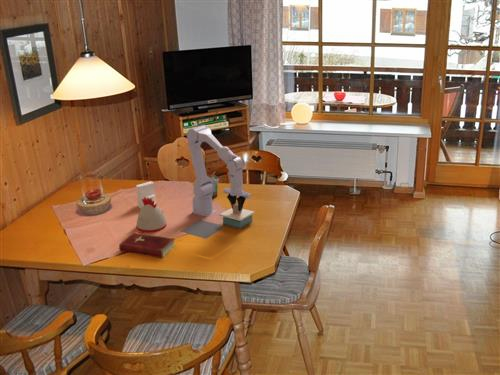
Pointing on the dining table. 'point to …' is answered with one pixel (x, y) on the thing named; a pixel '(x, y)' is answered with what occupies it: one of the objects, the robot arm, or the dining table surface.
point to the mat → (203, 229)
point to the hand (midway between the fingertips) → (237, 209)
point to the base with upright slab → (145, 193)
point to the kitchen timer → (150, 217)
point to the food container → (215, 182)
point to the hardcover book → (147, 245)
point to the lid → (237, 213)
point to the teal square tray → (237, 222)
